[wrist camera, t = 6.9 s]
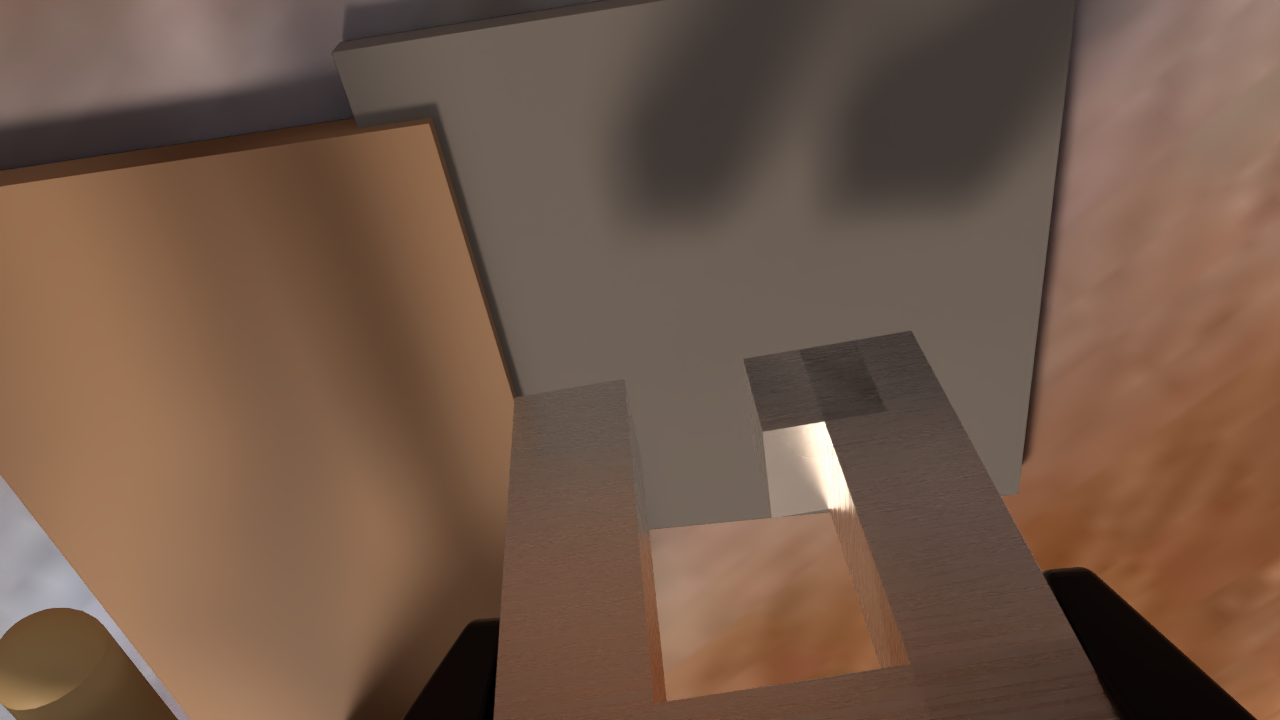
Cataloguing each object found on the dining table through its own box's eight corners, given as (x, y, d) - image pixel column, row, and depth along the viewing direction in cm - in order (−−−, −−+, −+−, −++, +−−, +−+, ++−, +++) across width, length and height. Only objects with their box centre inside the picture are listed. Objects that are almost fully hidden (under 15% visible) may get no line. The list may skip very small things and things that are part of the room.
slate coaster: (1071, -74, 11) (1084, -66, 11) (1011, 477, 16) (1018, 494, 16) (340, 41, 12) (331, 53, 12) (508, 527, 17) (505, 543, 17)
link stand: (438, 106, 12) (264, 452, 7) (631, 757, 22) (622, 1122, 16) (-170, 196, 13) (-738, 562, 8) (267, 784, 23) (144, 1135, 17)
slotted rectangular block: (911, 330, 12) (1162, 799, 7) (909, 416, 12) (1134, 890, 8) (514, 397, 12) (481, 899, 7) (539, 477, 13) (524, 976, 8)
